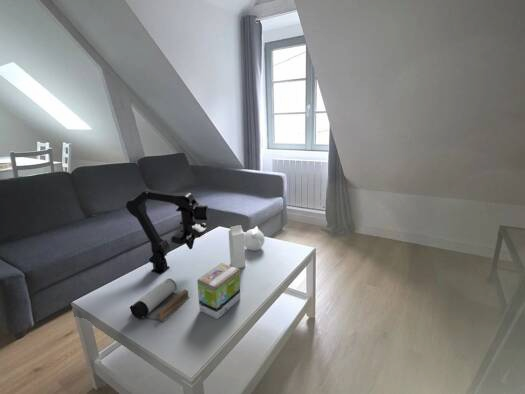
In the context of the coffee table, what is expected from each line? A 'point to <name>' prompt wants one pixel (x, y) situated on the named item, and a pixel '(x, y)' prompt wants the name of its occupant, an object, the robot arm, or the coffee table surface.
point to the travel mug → (153, 298)
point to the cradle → (168, 306)
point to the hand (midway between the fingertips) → (190, 248)
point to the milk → (237, 247)
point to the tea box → (219, 290)
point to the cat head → (253, 239)
